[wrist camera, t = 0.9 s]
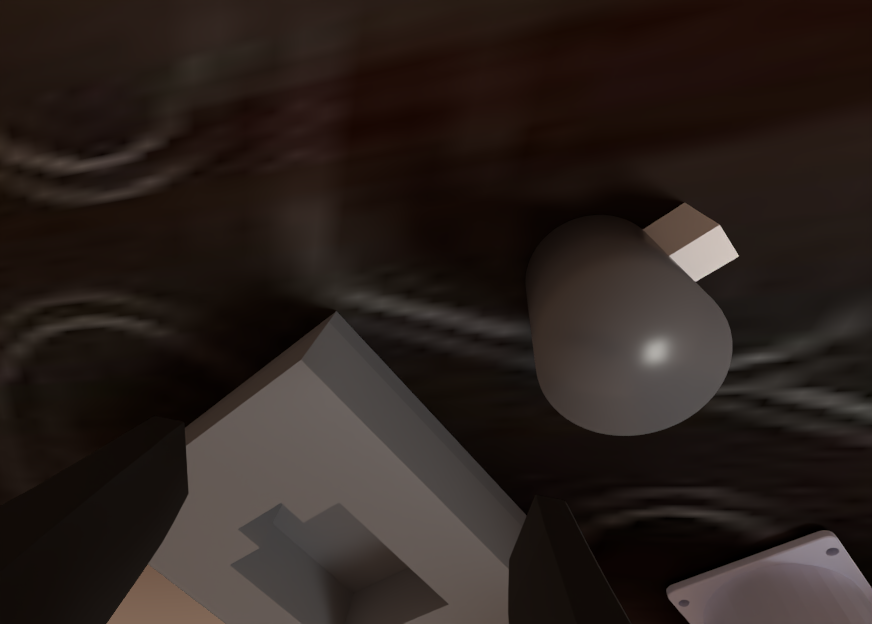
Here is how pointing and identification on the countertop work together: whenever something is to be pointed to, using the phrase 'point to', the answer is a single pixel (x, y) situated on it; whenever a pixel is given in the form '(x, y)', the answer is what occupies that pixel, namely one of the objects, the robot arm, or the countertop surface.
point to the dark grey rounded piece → (629, 320)
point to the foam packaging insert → (337, 501)
